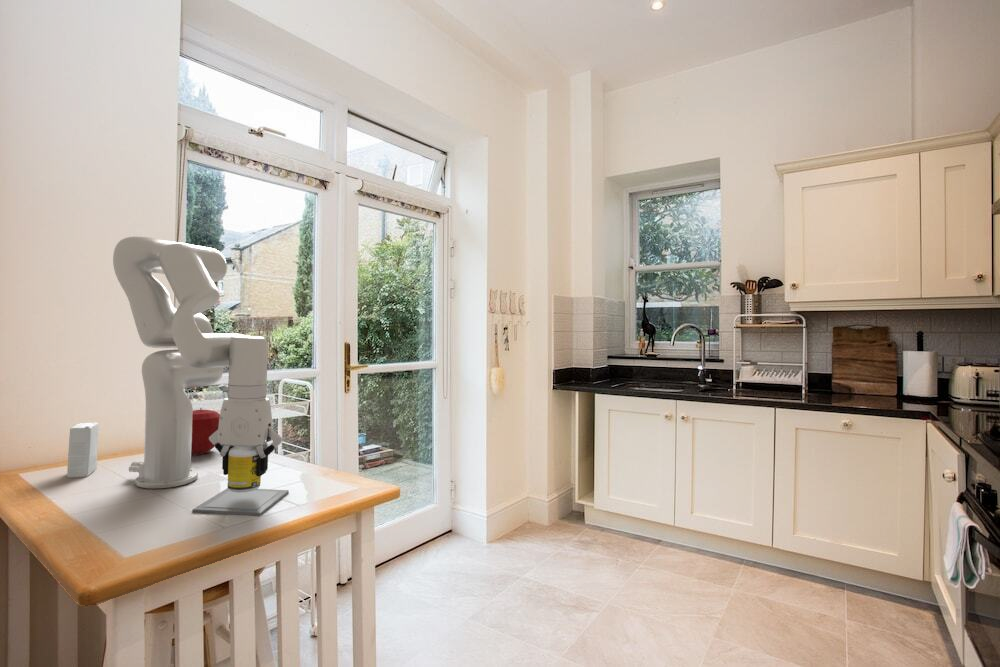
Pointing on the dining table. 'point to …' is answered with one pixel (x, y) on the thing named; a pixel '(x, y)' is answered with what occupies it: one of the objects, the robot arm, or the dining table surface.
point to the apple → (203, 430)
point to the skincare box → (82, 450)
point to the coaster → (241, 502)
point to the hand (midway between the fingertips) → (244, 473)
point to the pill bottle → (243, 469)
